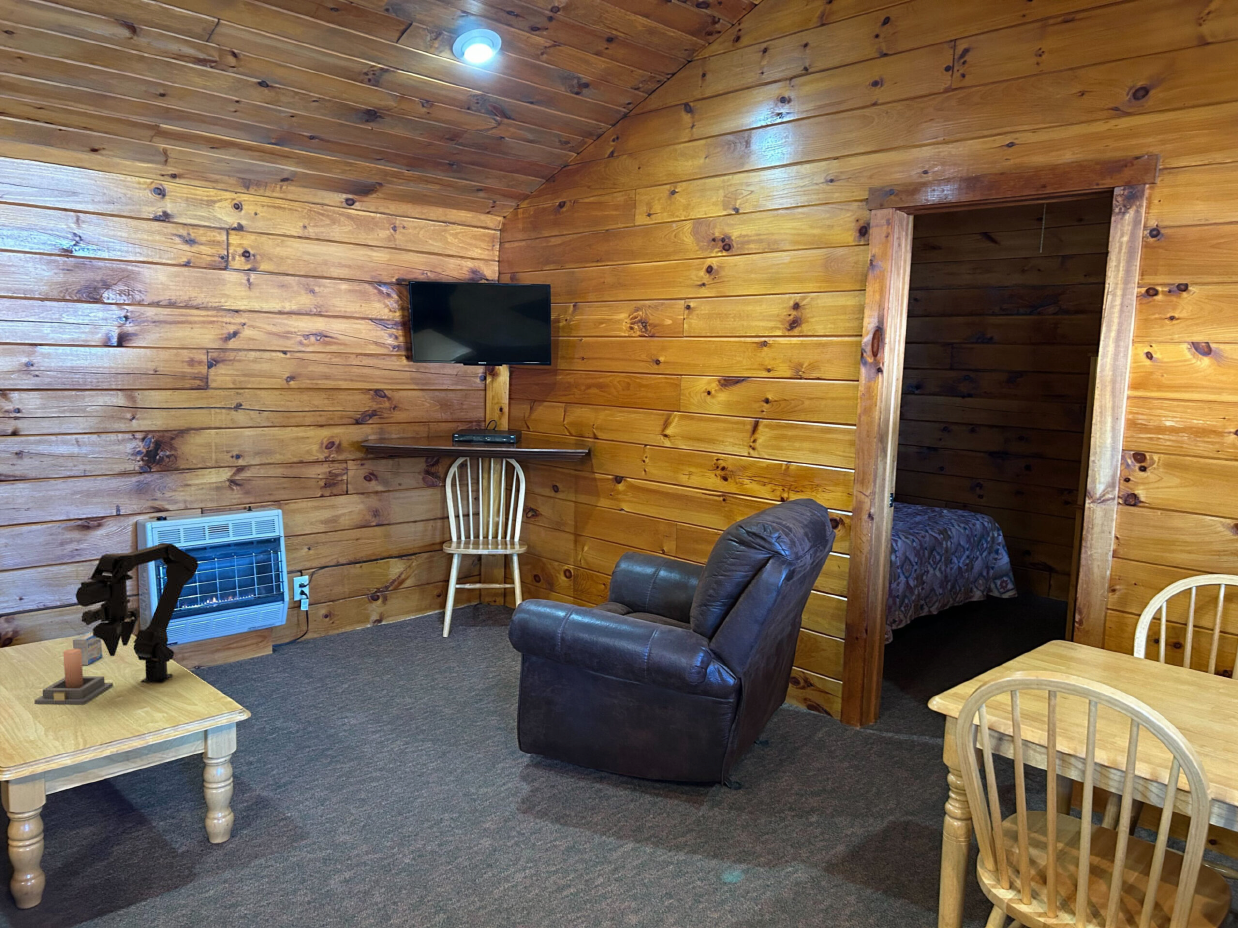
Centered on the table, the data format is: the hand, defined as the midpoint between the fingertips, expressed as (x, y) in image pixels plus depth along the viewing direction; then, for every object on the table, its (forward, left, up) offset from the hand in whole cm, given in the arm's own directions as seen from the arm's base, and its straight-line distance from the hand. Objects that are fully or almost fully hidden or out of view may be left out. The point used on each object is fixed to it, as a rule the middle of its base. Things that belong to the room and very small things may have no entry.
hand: (118, 650), depth 255 cm
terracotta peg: (+1, -13, -12) cm, 18 cm away
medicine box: (-27, -26, -13) cm, 40 cm away
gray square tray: (+1, -13, -13) cm, 18 cm away
